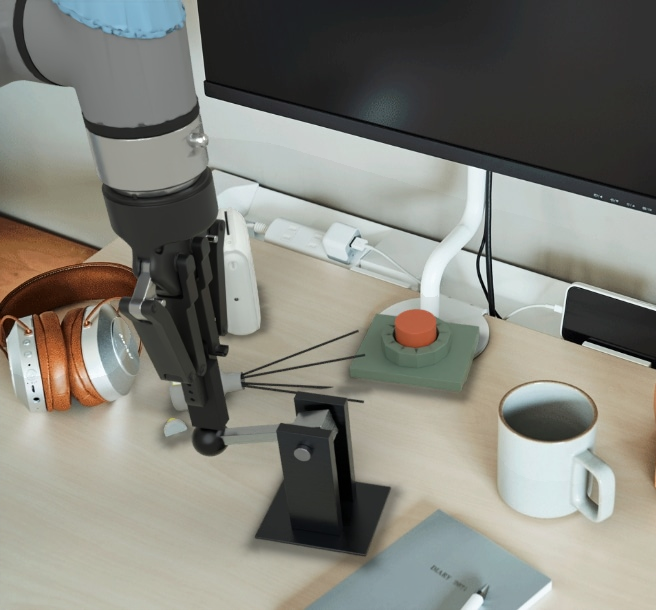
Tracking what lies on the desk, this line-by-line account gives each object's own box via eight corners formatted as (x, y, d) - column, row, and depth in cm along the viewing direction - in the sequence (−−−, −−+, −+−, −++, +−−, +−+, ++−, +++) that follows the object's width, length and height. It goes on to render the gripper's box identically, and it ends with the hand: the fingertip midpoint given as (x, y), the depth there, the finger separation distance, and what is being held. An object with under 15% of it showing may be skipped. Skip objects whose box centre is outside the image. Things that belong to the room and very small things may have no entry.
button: (390, 346, 98) (389, 330, 97) (401, 321, 101) (400, 306, 100) (431, 351, 97) (430, 335, 96) (440, 326, 101) (440, 311, 99)
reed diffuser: (163, 339, 94) (359, 315, 94) (185, 370, 99) (369, 347, 100) (156, 432, 88) (364, 406, 89) (180, 458, 94) (374, 434, 95)
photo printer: (264, 334, 105) (250, 241, 98) (226, 340, 104) (208, 247, 97) (256, 285, 113) (242, 196, 106) (220, 290, 112) (204, 200, 105)
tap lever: (194, 465, 79) (178, 437, 78) (210, 440, 82) (195, 412, 80) (330, 456, 76) (316, 427, 74) (342, 430, 78) (329, 401, 76)
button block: (350, 384, 98) (348, 354, 96) (377, 328, 106) (375, 300, 104) (461, 399, 96) (460, 369, 94) (479, 341, 104) (479, 313, 102)
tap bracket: (256, 545, 80) (235, 438, 73) (288, 479, 87) (272, 375, 79) (366, 564, 79) (356, 456, 71) (391, 495, 85) (384, 390, 78)
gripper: (162, 224, 59) (220, 484, 72) (243, 138, 69) (280, 379, 83) (55, 213, 60) (132, 470, 74) (150, 130, 70) (202, 369, 84)
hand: (210, 422), depth 78 cm, fingers closed
